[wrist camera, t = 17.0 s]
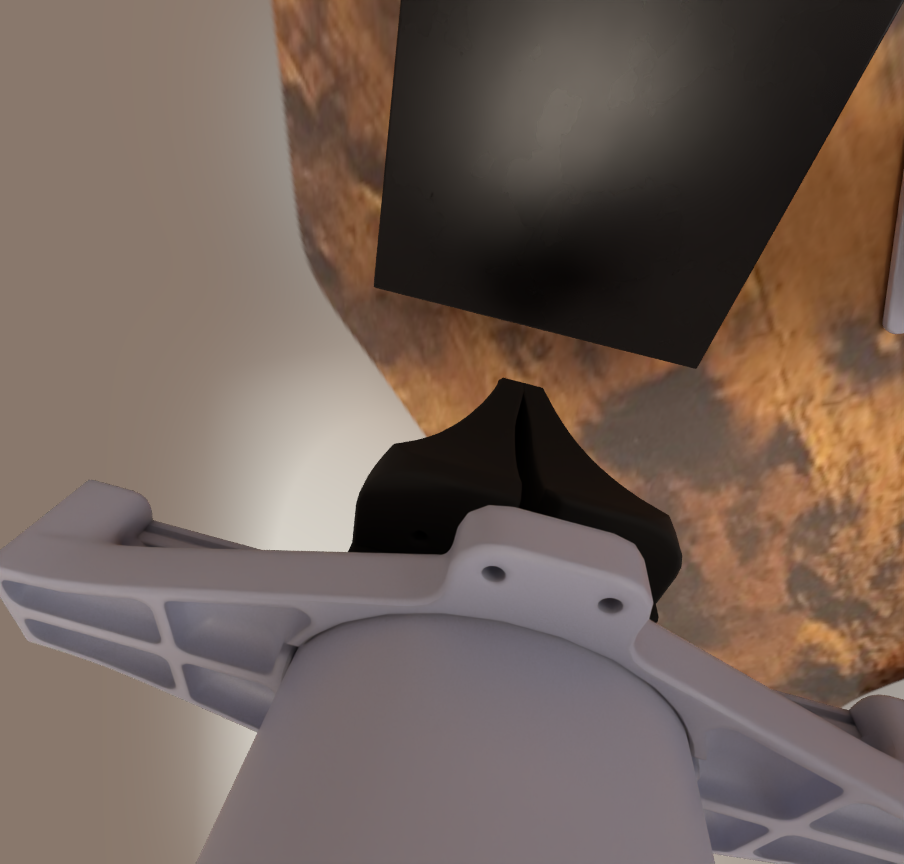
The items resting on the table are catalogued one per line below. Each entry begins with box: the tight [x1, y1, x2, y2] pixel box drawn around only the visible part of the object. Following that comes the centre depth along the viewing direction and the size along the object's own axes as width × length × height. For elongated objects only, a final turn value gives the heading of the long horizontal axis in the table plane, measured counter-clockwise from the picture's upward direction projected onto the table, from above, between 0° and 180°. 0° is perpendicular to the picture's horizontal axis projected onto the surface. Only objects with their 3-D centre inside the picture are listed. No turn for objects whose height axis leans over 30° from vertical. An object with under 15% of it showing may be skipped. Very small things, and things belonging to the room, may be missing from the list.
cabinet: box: [374, 0, 904, 369], centre depth 16 cm, size 14×13×5 cm
